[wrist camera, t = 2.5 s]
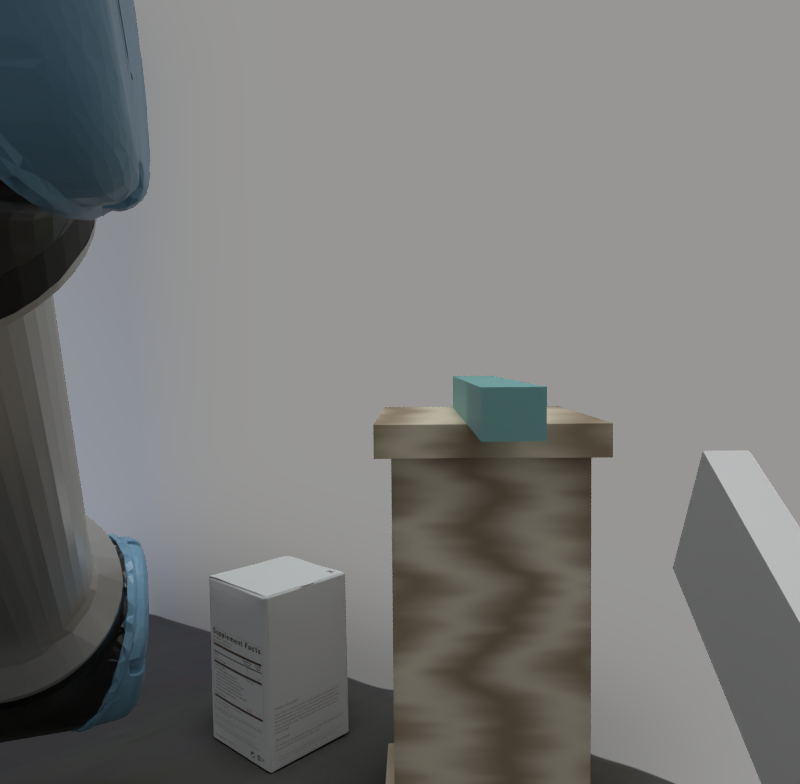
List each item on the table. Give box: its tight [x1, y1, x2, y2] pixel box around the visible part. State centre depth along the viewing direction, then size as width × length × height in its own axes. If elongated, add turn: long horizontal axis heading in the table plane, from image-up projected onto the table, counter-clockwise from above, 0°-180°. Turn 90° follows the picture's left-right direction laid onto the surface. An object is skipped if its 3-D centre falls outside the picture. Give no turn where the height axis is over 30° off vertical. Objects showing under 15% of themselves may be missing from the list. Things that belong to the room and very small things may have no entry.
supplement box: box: [209, 556, 349, 773], centre depth 64 cm, size 9×9×15 cm
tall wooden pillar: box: [374, 406, 613, 784], centre depth 50 cm, size 14×16×30 cm
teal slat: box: [453, 376, 547, 442], centre depth 45 cm, size 3×24×2 cm, turn 179°
